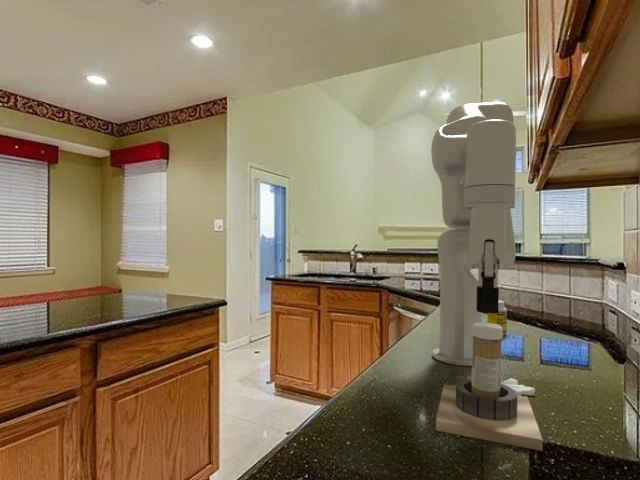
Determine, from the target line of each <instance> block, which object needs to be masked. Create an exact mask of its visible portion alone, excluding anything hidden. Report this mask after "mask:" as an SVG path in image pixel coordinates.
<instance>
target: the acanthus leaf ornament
mask: <svg viewBox="0 0 640 480" xmlns="http://www.w3.org/2000/svg"><path fill="white" fill-rule="evenodd" d="M501 384H503V385H506V386H508V387H510V388H512V389H513V390H515V391H516V393H517V395H518V396H523V395H524V396H534V393H535V391H536V389H535V388H534V387H531V386H526V385H525V384H519V382H518V381H517V379H515V378H513V377H511V378H510V377H509V378H508V379H506V380H505V381H503V382H502V381H501Z"/></svg>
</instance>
